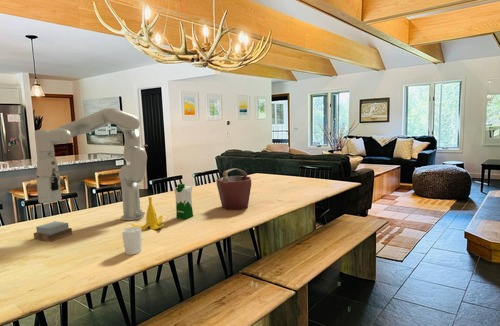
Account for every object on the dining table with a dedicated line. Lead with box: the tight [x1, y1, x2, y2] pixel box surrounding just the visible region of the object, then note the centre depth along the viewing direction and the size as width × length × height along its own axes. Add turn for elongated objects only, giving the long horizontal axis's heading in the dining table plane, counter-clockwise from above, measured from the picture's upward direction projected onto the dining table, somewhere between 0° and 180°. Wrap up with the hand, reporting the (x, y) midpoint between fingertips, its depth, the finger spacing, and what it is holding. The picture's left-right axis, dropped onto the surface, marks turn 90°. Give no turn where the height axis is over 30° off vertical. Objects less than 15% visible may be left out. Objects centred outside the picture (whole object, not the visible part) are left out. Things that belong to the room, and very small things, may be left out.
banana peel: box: [130, 196, 164, 230], centre depth 179 cm, size 17×19×17 cm
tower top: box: [35, 221, 70, 235], centre depth 169 cm, size 10×10×3 cm
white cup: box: [121, 226, 143, 256], centre depth 145 cm, size 8×8×10 cm
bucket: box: [216, 168, 252, 211], centre depth 217 cm, size 24×22×25 cm
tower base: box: [33, 227, 73, 243], centre depth 170 cm, size 12×12×3 cm
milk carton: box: [173, 183, 194, 220], centre depth 196 cm, size 9×9×20 cm
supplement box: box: [35, 176, 63, 204], centre depth 167 cm, size 7×7×13 cm
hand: (49, 189), depth 167 cm, fingers closed on supplement box, 8 cm apart
